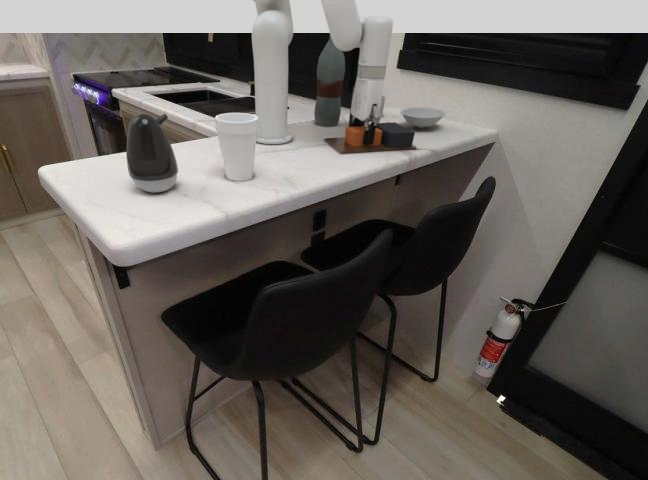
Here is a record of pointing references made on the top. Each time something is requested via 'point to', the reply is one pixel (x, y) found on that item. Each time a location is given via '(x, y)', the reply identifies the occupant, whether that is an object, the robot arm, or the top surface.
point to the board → (347, 148)
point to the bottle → (329, 85)
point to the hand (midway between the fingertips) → (361, 140)
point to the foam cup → (237, 143)
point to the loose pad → (360, 136)
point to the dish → (422, 116)
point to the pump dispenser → (150, 154)
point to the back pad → (395, 135)
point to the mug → (382, 105)
